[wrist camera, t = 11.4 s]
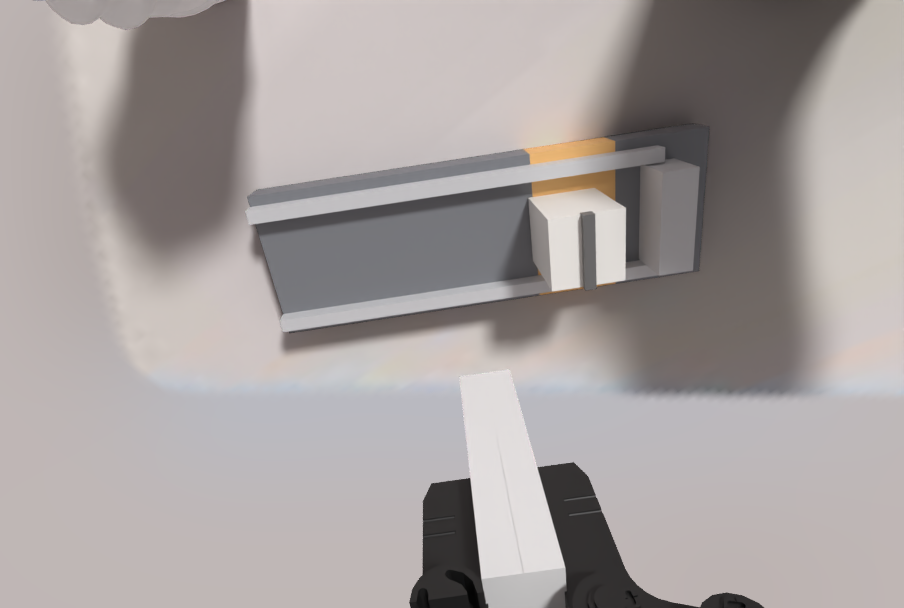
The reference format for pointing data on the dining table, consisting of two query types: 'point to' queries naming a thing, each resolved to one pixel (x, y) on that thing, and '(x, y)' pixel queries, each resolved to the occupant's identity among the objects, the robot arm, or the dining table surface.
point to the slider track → (470, 226)
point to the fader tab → (578, 239)
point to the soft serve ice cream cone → (125, 10)
